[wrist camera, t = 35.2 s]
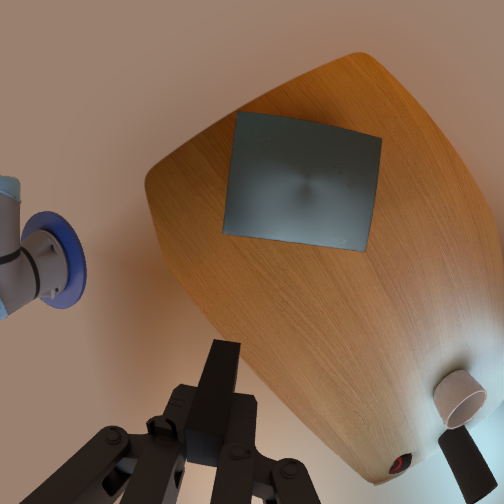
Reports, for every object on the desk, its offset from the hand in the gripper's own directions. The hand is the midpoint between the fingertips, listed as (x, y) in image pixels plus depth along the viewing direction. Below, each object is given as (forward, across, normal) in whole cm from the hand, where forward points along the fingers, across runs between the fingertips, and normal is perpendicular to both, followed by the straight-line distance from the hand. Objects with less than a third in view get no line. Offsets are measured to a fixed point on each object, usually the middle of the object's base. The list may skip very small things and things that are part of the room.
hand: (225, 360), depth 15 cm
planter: (+30, +53, -29) cm, 67 cm away
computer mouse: (+30, +56, -65) cm, 91 cm away
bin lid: (+16, +5, +11) cm, 19 cm away
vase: (+30, +71, -53) cm, 93 cm away
